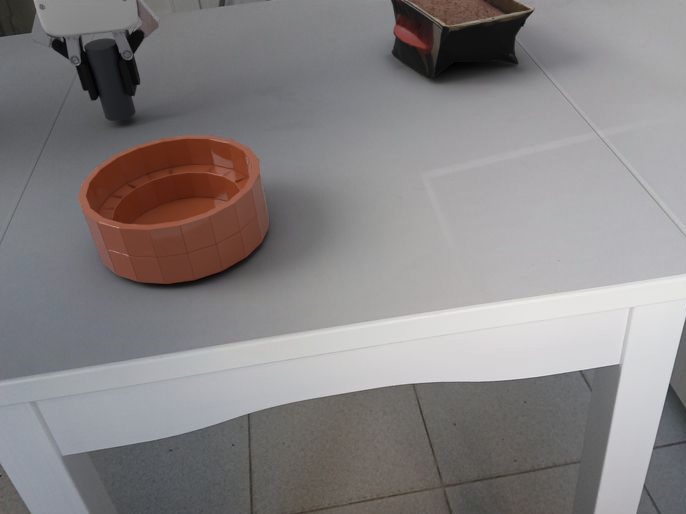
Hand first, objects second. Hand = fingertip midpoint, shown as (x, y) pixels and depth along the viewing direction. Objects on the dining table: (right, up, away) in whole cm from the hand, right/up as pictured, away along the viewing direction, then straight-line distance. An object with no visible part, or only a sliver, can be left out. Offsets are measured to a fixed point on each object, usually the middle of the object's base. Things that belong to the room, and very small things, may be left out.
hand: (114, 91), depth 82 cm
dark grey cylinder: (0, -2, +2) cm, 3 cm away
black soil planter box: (+40, +7, +8) cm, 41 cm away
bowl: (+12, -19, -16) cm, 28 cm away
